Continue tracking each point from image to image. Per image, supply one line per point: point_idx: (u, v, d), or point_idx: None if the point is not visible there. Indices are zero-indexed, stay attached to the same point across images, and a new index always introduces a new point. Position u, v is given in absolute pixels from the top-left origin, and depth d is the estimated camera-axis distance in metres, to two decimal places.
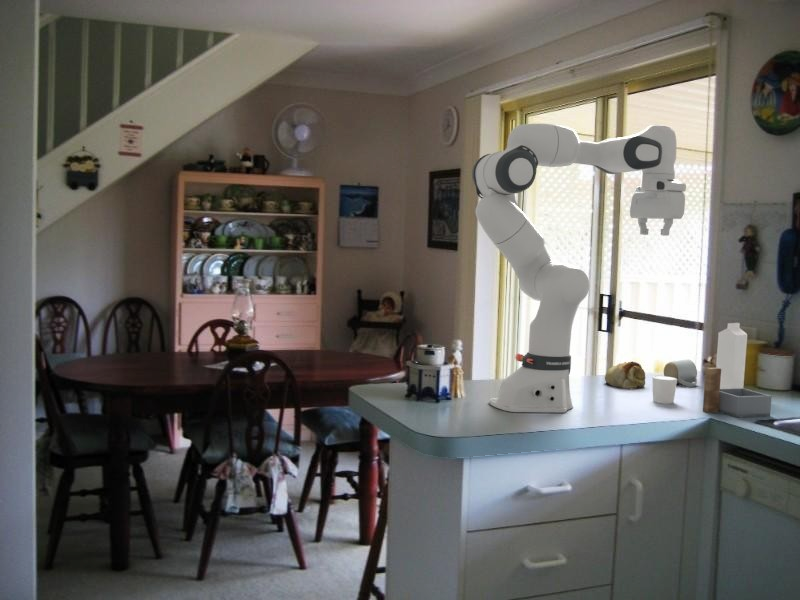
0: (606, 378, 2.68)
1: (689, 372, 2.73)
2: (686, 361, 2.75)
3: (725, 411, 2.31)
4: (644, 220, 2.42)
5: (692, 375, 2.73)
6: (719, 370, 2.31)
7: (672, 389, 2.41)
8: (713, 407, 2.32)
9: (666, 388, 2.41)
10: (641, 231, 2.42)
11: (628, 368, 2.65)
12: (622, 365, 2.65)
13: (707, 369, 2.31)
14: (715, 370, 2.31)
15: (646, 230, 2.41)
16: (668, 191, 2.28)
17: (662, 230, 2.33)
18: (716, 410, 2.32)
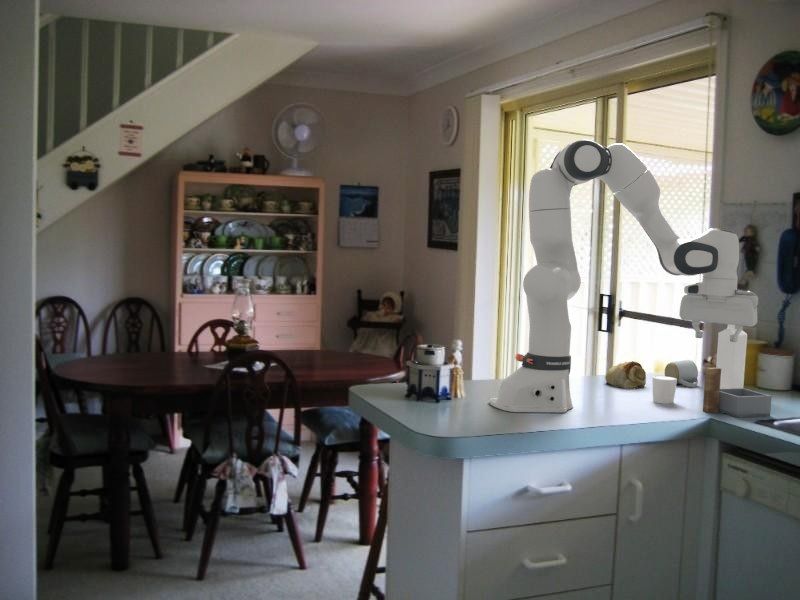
0: (607, 378, 2.69)
1: (690, 372, 2.72)
2: (687, 361, 2.75)
3: (725, 411, 2.31)
4: None
5: (693, 375, 2.73)
6: (719, 370, 2.31)
7: (672, 389, 2.41)
8: (713, 407, 2.32)
9: (666, 388, 2.41)
10: None
11: (629, 368, 2.65)
12: (623, 365, 2.66)
13: (707, 369, 2.32)
14: (715, 370, 2.31)
15: None
16: None
17: None
18: (716, 410, 2.32)
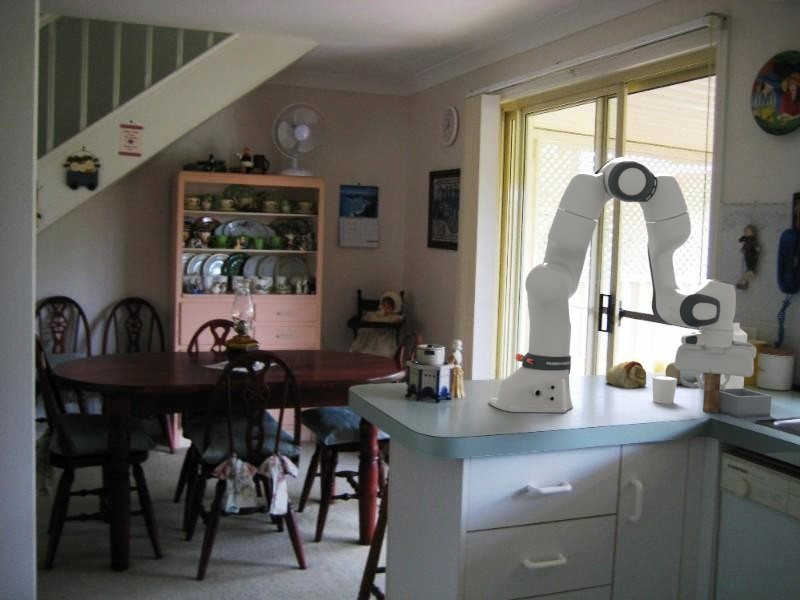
0: (607, 378, 2.69)
1: (691, 373, 2.72)
2: None
3: (725, 411, 2.31)
4: (725, 376, 2.31)
5: (694, 376, 2.72)
6: None
7: (672, 389, 2.41)
8: (713, 407, 2.32)
9: (666, 388, 2.41)
10: None
11: (629, 368, 2.66)
12: (623, 365, 2.66)
13: None
14: None
15: None
16: None
17: None
18: (716, 410, 2.32)
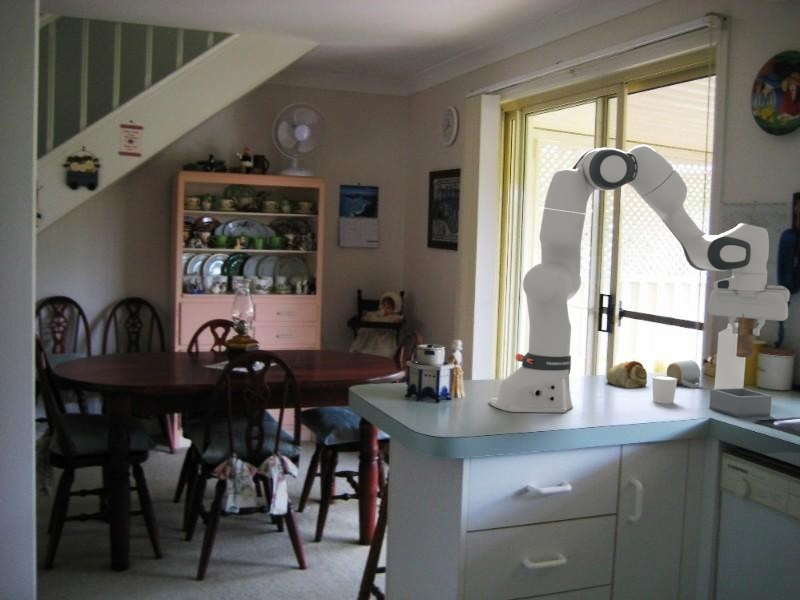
0: (608, 377, 2.70)
1: (692, 373, 2.71)
2: (689, 362, 2.74)
3: (725, 411, 2.31)
4: None
5: (695, 376, 2.72)
6: None
7: (672, 389, 2.41)
8: (747, 352, 2.31)
9: (666, 388, 2.41)
10: None
11: (630, 367, 2.66)
12: (624, 364, 2.67)
13: None
14: None
15: None
16: None
17: None
18: (750, 355, 2.31)
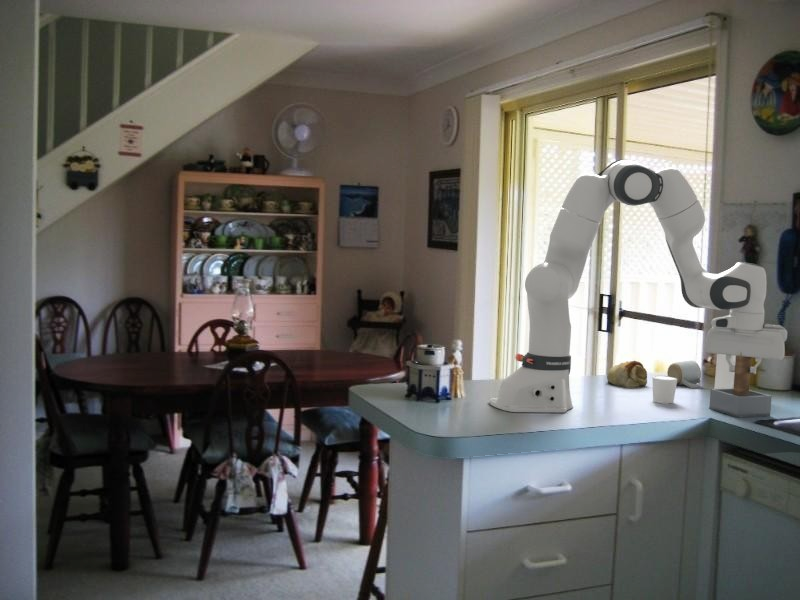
0: (608, 377, 2.70)
1: (693, 373, 2.71)
2: (690, 362, 2.73)
3: (725, 411, 2.31)
4: None
5: (696, 376, 2.71)
6: None
7: (672, 389, 2.41)
8: (744, 390, 2.32)
9: (666, 388, 2.41)
10: None
11: (630, 367, 2.66)
12: (624, 364, 2.67)
13: None
14: None
15: None
16: None
17: None
18: (747, 393, 2.32)
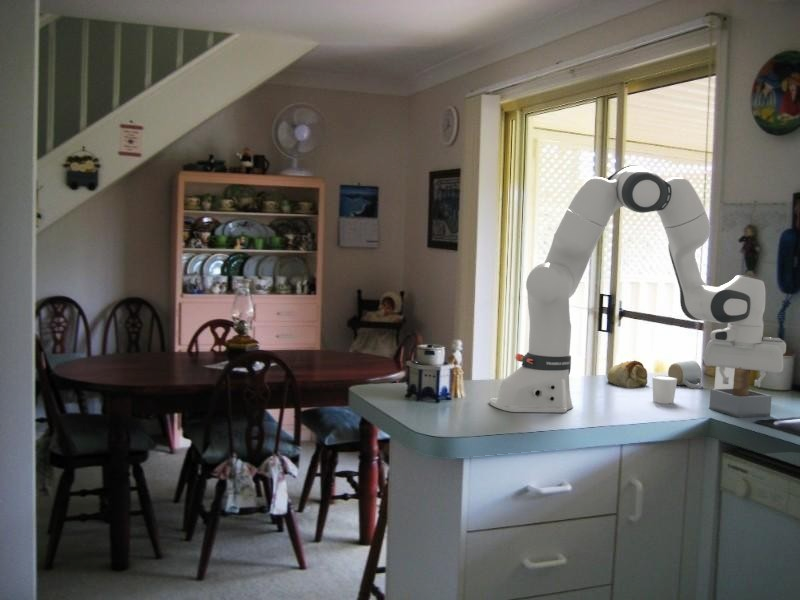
0: (609, 377, 2.70)
1: (694, 373, 2.71)
2: (691, 362, 2.73)
3: (725, 411, 2.31)
4: None
5: (697, 376, 2.71)
6: None
7: (672, 389, 2.41)
8: None
9: (666, 388, 2.41)
10: None
11: (631, 367, 2.67)
12: (625, 364, 2.67)
13: None
14: None
15: None
16: None
17: None
18: None
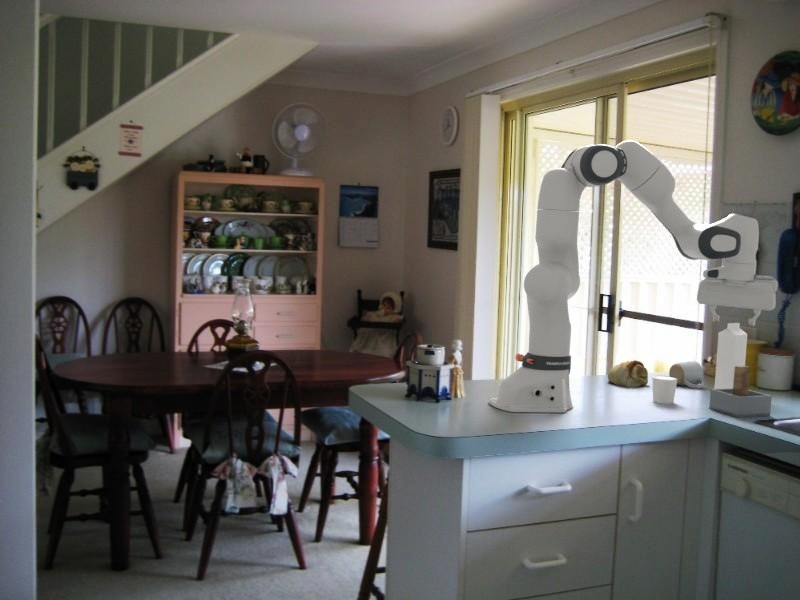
0: (609, 377, 2.71)
1: (695, 374, 2.70)
2: (692, 362, 2.72)
3: (725, 411, 2.31)
4: None
5: (698, 377, 2.71)
6: (748, 368, 2.32)
7: (672, 389, 2.41)
8: None
9: (666, 388, 2.41)
10: None
11: (632, 367, 2.67)
12: (625, 364, 2.68)
13: (736, 367, 2.32)
14: (744, 368, 2.32)
15: None
16: None
17: None
18: None
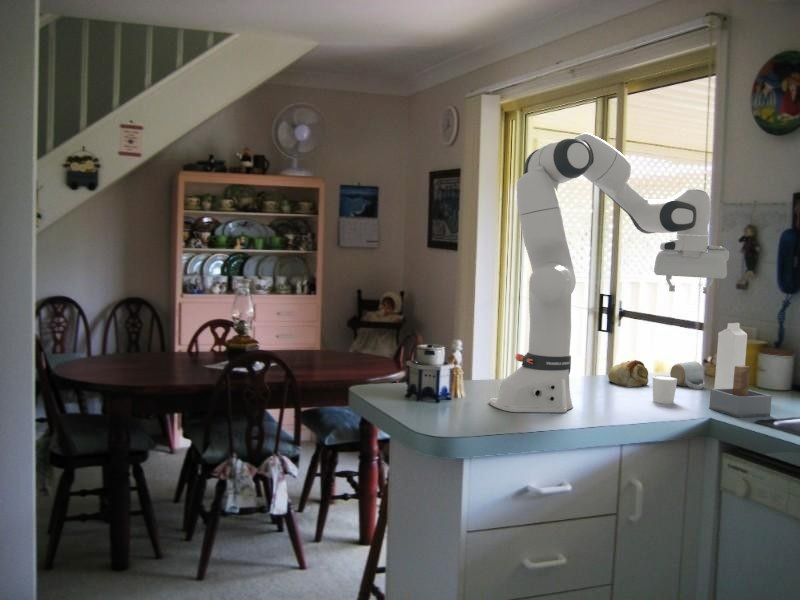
0: (610, 377, 2.71)
1: (696, 374, 2.70)
2: (693, 363, 2.72)
3: (725, 411, 2.31)
4: (708, 279, 2.47)
5: (699, 377, 2.70)
6: (748, 368, 2.32)
7: (672, 389, 2.41)
8: None
9: (666, 388, 2.41)
10: None
11: (632, 367, 2.68)
12: (626, 364, 2.68)
13: (736, 367, 2.32)
14: (744, 368, 2.32)
15: None
16: None
17: None
18: None
